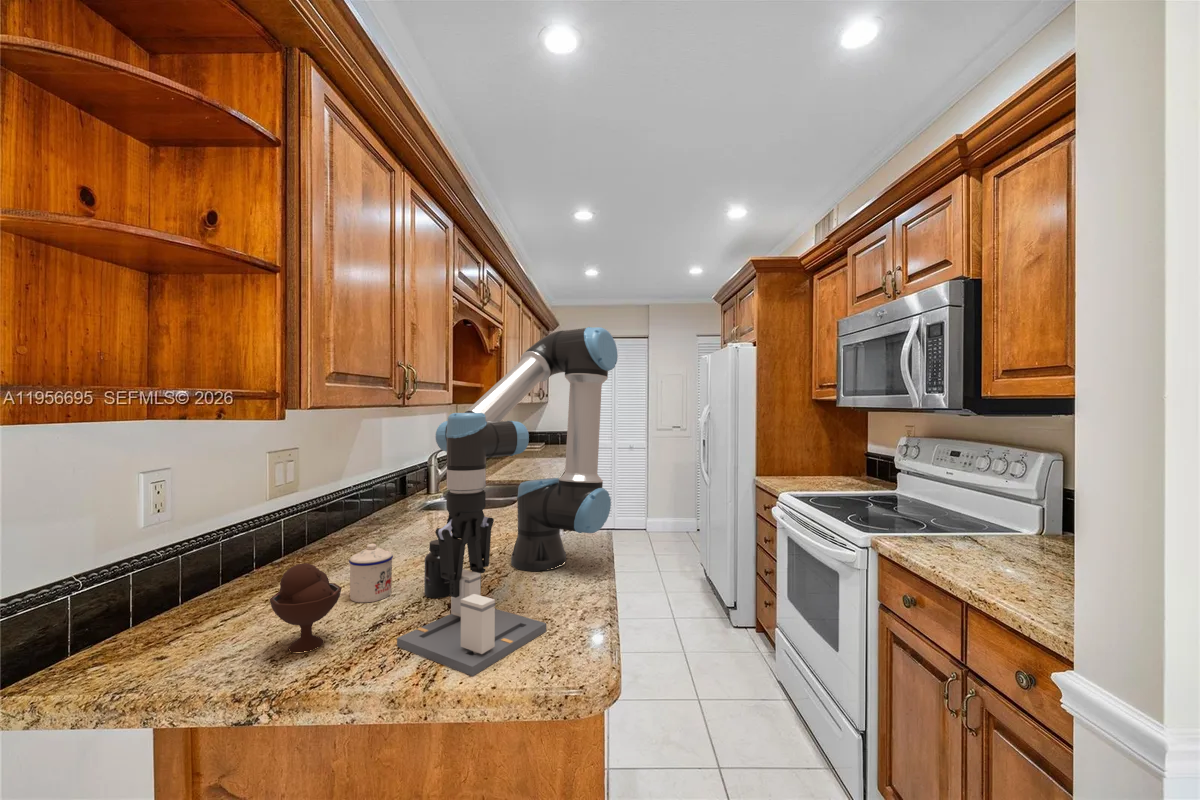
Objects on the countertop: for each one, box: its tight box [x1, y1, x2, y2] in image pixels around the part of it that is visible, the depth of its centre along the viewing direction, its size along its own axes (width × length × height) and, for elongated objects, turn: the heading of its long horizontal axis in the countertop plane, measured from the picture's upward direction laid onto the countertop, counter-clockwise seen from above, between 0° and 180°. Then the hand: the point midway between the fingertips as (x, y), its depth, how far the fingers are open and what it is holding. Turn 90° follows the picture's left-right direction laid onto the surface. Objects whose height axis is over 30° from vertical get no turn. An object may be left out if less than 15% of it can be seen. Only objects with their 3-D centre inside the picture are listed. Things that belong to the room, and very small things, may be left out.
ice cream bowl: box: [269, 562, 342, 652], centre depth 89 cm, size 11×11×15 cm
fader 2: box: [460, 594, 496, 654], centre depth 85 cm, size 3×5×9 cm, turn 58°
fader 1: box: [450, 568, 482, 617], centre depth 98 cm, size 3×5×9 cm, turn 58°
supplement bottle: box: [423, 539, 451, 599], centre depth 115 cm, size 7×7×12 cm
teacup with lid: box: [348, 543, 394, 603], centre depth 115 cm, size 12×9×12 cm
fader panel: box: [396, 608, 547, 677], centre depth 92 cm, size 19×19×2 cm
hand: (465, 608), depth 98 cm, fingers closed on fader 1, 3 cm apart
